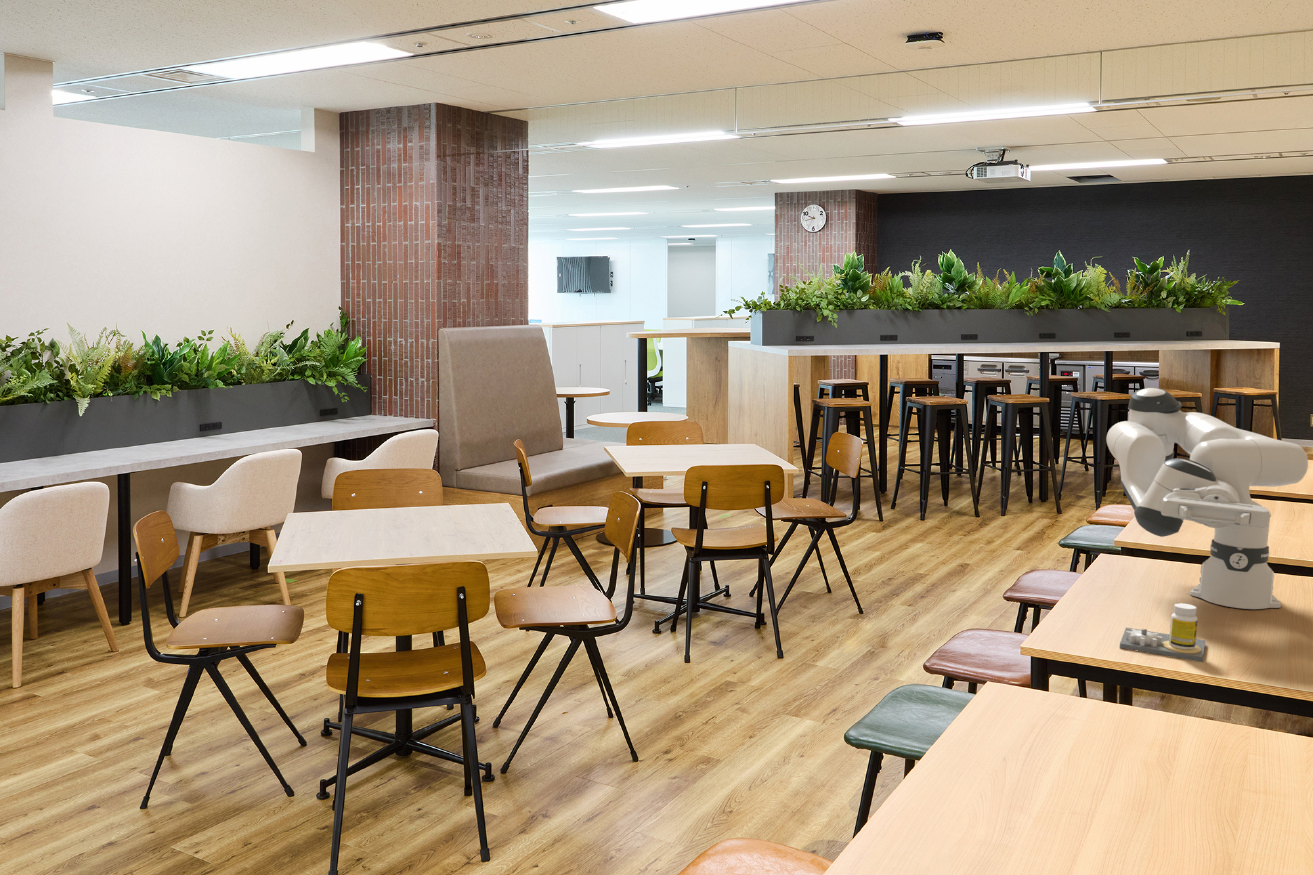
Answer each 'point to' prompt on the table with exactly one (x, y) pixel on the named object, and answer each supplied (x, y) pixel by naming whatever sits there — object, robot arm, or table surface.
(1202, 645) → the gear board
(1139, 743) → the table surface
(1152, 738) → the table surface
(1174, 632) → the supplement bottle
